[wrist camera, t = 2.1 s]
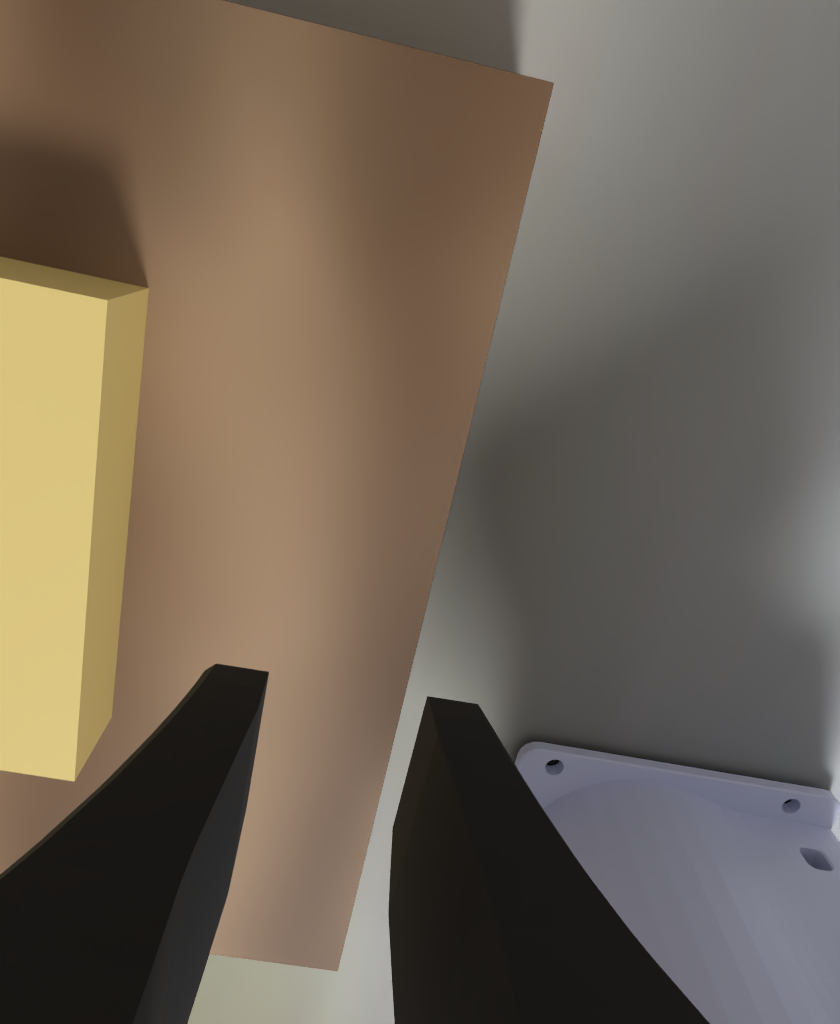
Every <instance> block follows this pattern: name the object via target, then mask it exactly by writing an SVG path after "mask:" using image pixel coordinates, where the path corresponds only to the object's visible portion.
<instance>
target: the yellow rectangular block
mask: <svg viewBox="0 0 840 1024" xmlns="http://www.w3.org/2000/svg"><path fill="white" fill-rule="evenodd" d="M148 292H149V288H146V287H141V286H136V285H132V284H127V283H122V282H118V281H113V280H108V279H103V278H99V277H94V276H89V275H85V274H80V273H75V272H71V271H66V270H61V269H57V268H52V267H47V266H43V265H38V264H33V263H28V262H24V261H19V260H14V259H10V258H5V257H0V770H2V771H9V772H15V773H22V774H28V775H35V776H41V777H48V778H54V779H61V780H68V781H75V780H76V778H77V776H78V775H79V773H80V771H81V769H82V768H83V766H84V764H85V763H86V761H87V759H88V757H89V756H90V754H91V752H92V750H93V749H94V747H95V745H96V744H97V742H98V740H99V738H100V737H101V735H102V733H103V731H104V730H105V728H106V726H107V725H108V723H109V721H110V719H111V718H112V708H113V697H114V685H115V673H116V662H117V650H118V639H119V627H120V616H121V604H122V593H123V581H124V569H125V558H126V546H127V535H128V523H129V512H130V500H131V489H132V477H133V466H134V454H135V442H136V431H137V419H138V408H139V396H140V385H141V373H142V362H143V350H144V338H145V327H146V315H147V304H148Z"/></svg>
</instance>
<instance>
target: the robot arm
mask: <svg viewBox="0 0 840 1024" xmlns="http://www.w3.org/2000/svg"><path fill="white" fill-rule="evenodd" d="M268 676H269V672H267V671H261V670H255V669H248V668H242V667H235V666H229V665H223V664H214V665H213V666H211V667H210V668H208V669H206V670H205V671H204V672H203V674H202V675H201V676H200V678H199V679H198V681H197V682H196V683H195V684H194V686H193V687H192V688H191V689H190V691H189V692H188V693H187V694H186V696H185V697H184V698H183V699H182V700H181V702H180V703H179V704H178V705H177V706H176V707H175V709H174V710H173V711H172V712H171V713H170V714H169V715H168V717H167V718H166V719H165V720H164V721H163V722H162V723H161V724H160V725H159V726H158V728H157V729H156V730H155V731H154V732H153V733H152V734H151V735H150V736H149V737H148V738H147V739H146V740H145V741H144V742H143V743H142V744H141V746H140V747H139V748H138V749H137V750H136V751H135V752H134V753H133V754H132V755H131V756H130V757H129V758H128V759H127V760H126V761H125V762H124V763H123V764H122V765H121V766H120V767H119V768H118V769H117V770H116V771H115V772H114V773H113V774H112V775H111V776H110V777H109V778H108V779H107V780H106V781H105V782H104V783H103V784H102V785H101V786H100V787H99V788H98V789H97V790H96V791H95V792H93V793H92V794H91V795H90V796H89V797H88V798H87V799H86V800H85V801H83V802H82V803H81V804H80V805H79V806H78V807H77V808H76V809H75V810H74V811H72V812H71V813H70V814H69V815H68V816H67V817H66V818H65V819H64V820H63V821H61V822H60V823H59V824H58V825H57V826H56V827H55V828H54V829H53V830H51V831H50V832H49V833H48V834H47V835H46V836H45V837H44V838H43V839H42V840H40V841H39V842H38V843H37V844H36V845H35V846H34V847H32V848H31V849H30V850H29V851H28V852H26V853H25V854H24V855H23V856H22V857H21V858H19V859H18V860H17V861H16V862H15V863H13V864H12V865H11V866H10V867H9V868H7V869H6V870H5V871H4V872H3V873H1V874H0V1024H187V1023H188V1019H189V1016H190V1013H191V1010H192V1007H193V1004H194V1001H195V997H196V994H197V991H198V988H199V985H200V982H201V979H202V975H203V972H204V969H205V966H206V963H207V960H208V956H209V953H210V950H211V947H212V944H213V941H214V937H215V934H216V931H217V928H218V925H219V922H220V918H221V915H222V912H223V909H224V906H225V902H226V899H227V896H228V892H229V888H230V883H231V878H232V874H233V869H234V864H235V860H236V855H237V850H238V846H239V841H240V836H241V832H242V827H243V822H244V818H245V813H246V808H247V802H248V796H249V790H250V784H251V778H252V772H253V766H254V760H255V754H256V748H257V742H258V736H259V730H260V724H261V718H262V712H263V706H264V700H265V694H266V688H267V682H268ZM551 760H559V761H560V762H559V763H558V764H556V765H552V766H549V765H547V762H549V761H551ZM789 799H792V800H791V801H790V802H788V803H786V804H784V802H785V801H787V800H789ZM839 812H840V803H839V801H838V800H837V799H836V797H835V796H834V795H833V794H832V793H831V792H830V791H828V790H825V789H819V788H813V787H807V786H801V785H795V784H789V783H783V782H777V781H771V780H765V779H759V778H753V777H747V776H741V775H735V774H730V773H724V772H718V771H712V770H706V769H700V768H694V767H688V766H682V765H676V764H670V763H664V762H658V761H652V760H646V759H640V758H634V757H628V756H622V755H616V754H610V753H604V752H598V751H592V750H586V749H580V748H574V747H568V746H562V745H556V744H550V743H544V742H531V743H528V744H525V745H524V746H523V747H522V748H521V749H520V750H519V752H518V754H517V757H516V761H515V764H514V762H513V761H512V759H511V757H510V756H509V754H508V752H507V751H506V749H505V747H504V746H503V744H502V742H501V741H500V739H499V738H498V736H497V734H496V733H495V731H494V729H493V728H492V726H491V724H490V723H489V721H488V719H487V718H486V716H485V715H484V713H483V712H482V710H481V709H480V707H479V705H478V704H473V703H466V702H460V701H454V700H447V699H441V698H434V697H428V696H427V700H426V704H425V707H424V711H423V715H422V719H421V723H420V726H419V730H418V734H417V738H416V742H415V746H414V749H413V753H412V757H411V761H410V765H409V768H408V772H407V776H406V780H405V784H404V787H403V791H402V795H401V799H400V803H399V807H398V810H397V814H396V818H395V822H394V826H393V835H392V853H391V871H390V893H389V931H390V949H391V967H392V985H393V1001H394V1018H395V1024H840V842H839V841H838V839H837V838H836V837H835V835H834V834H833V832H832V831H831V828H832V826H833V824H834V822H835V821H836V819H837V817H838V815H839Z"/></svg>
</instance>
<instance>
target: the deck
mask: <svg viewBox="0 0 840 1024" xmlns="http://www.w3.org/2000/svg"><path fill="white" fill-rule="evenodd" d="M553 85H554V83H552V82H548V81H544V80H540V79H536V78H532V77H528V76H524V75H520V74H516V73H512V72H508V71H504V70H500V69H496V68H492V67H488V66H484V65H480V64H476V63H472V62H468V61H464V60H460V59H456V58H452V57H448V56H444V55H440V54H436V53H432V52H428V51H424V50H420V49H416V48H412V47H408V46H404V45H400V44H396V43H392V42H388V41H384V40H380V39H376V38H372V37H368V36H364V35H360V34H356V33H352V32H348V31H344V30H340V29H336V28H332V27H328V26H324V25H320V24H316V23H312V22H308V21H304V20H300V19H296V18H292V17H288V16H284V15H280V14H276V13H272V12H268V11H264V10H260V9H256V8H252V7H248V6H244V5H240V4H236V3H232V2H228V1H224V0H0V257H5V258H10V259H14V260H19V261H24V262H28V263H33V264H38V265H43V266H47V267H52V268H57V269H61V270H66V271H71V272H75V273H80V274H85V275H89V276H94V277H99V278H103V279H108V280H113V281H118V282H122V283H127V284H132V285H136V286H141V287H146V288H149V292H148V304H147V315H146V327H145V338H144V350H143V362H142V373H141V385H140V396H139V408H138V419H137V431H136V442H135V454H134V466H133V477H132V489H131V500H130V512H129V523H128V535H127V546H126V558H125V569H124V581H123V593H122V604H121V616H120V627H119V639H118V650H117V662H116V673H115V685H114V697H113V708H112V718H111V719H110V721H109V723H108V725H107V726H106V728H105V730H104V731H103V733H102V735H101V737H100V738H99V740H98V742H97V744H96V745H95V747H94V749H93V750H92V752H91V754H90V756H89V757H88V759H87V761H86V763H85V764H84V766H83V768H82V769H81V771H80V773H79V775H78V776H77V778H76V780H75V781H68V780H61V779H54V778H48V777H41V776H35V775H28V774H22V773H15V772H9V771H2V770H0V874H1V873H3V872H4V871H5V870H6V869H7V868H9V867H10V866H11V865H12V864H13V863H15V862H16V861H17V860H18V859H19V858H21V857H22V856H23V855H24V854H25V853H26V852H28V851H29V850H30V849H31V848H32V847H34V846H35V845H36V844H37V843H38V842H39V841H40V840H42V839H43V838H44V837H45V836H46V835H47V834H48V833H49V832H50V831H51V830H53V829H54V828H55V827H56V826H57V825H58V824H59V823H60V822H61V821H63V820H64V819H65V818H66V817H67V816H68V815H69V814H70V813H71V812H72V811H74V810H75V809H76V808H77V807H78V806H79V805H80V804H81V803H82V802H83V801H85V800H86V799H87V798H88V797H89V796H90V795H91V794H92V793H93V792H95V791H96V790H97V789H98V788H99V787H100V786H101V785H102V784H103V783H104V782H105V781H106V780H107V779H108V778H109V777H110V776H111V775H112V774H113V773H114V772H115V771H116V770H117V769H118V768H119V767H120V766H121V765H122V764H123V763H124V762H125V761H126V760H127V759H128V758H129V757H130V756H131V755H132V754H133V753H134V752H135V751H136V750H137V749H138V748H139V747H140V746H141V744H142V743H143V742H144V741H145V740H146V739H147V738H148V737H149V736H150V735H151V734H152V733H153V732H154V731H155V730H156V729H157V728H158V726H159V725H160V724H161V723H162V722H163V721H164V720H165V719H166V718H167V717H168V715H169V714H170V713H171V712H172V711H173V710H174V709H175V707H176V706H177V705H178V704H179V703H180V702H181V700H182V699H183V698H184V697H185V696H186V694H187V693H188V692H189V691H190V689H191V688H192V687H193V686H194V684H195V683H196V682H197V681H198V679H199V678H200V676H201V675H202V674H203V672H204V671H205V670H206V669H208V668H210V667H211V666H213V665H214V664H223V665H229V666H235V667H242V668H248V669H255V670H261V671H267V672H269V676H268V682H267V688H266V694H265V700H264V706H263V712H262V718H261V724H260V730H259V736H258V742H257V748H256V754H255V760H254V766H253V772H252V778H251V784H250V790H249V796H248V802H247V808H246V813H245V818H244V822H243V827H242V832H241V836H240V841H239V846H238V850H237V855H236V860H235V864H234V869H233V874H232V878H231V883H230V888H229V892H228V896H227V899H226V902H225V906H224V909H223V912H222V915H221V918H220V922H219V925H218V928H217V931H216V934H215V937H214V941H213V944H212V947H211V950H210V953H209V954H214V955H221V956H229V957H236V958H243V959H251V960H258V961H266V962H273V963H280V964H288V965H295V966H303V967H310V968H317V969H325V970H332V971H338V967H339V963H340V959H341V955H342V951H343V947H344V943H345V939H346V934H347V930H348V926H349V922H350V918H351V914H352V910H353V906H354V902H355V897H356V893H357V889H358V885H359V881H360V877H361V873H362V869H363V865H364V861H365V856H366V852H367V848H368V844H369V840H370V836H371V832H372V828H373V824H374V819H375V815H376V811H377V807H378V803H379V799H380V795H381V791H382V787H383V783H384V778H385V774H386V770H387V766H388V762H389V758H390V754H391V750H392V746H393V741H394V737H395V733H396V729H397V725H398V721H399V717H400V713H401V709H402V705H403V700H404V696H405V692H406V688H407V684H408V680H409V676H410V672H411V668H412V663H413V659H414V655H415V651H416V647H417V643H418V639H419V635H420V631H421V627H422V622H423V618H424V614H425V610H426V606H427V602H428V598H429V594H430V590H431V585H432V581H433V577H434V573H435V569H436V565H437V561H438V557H439V553H440V548H441V544H442V540H443V536H444V532H445V528H446V524H447V520H448V516H449V512H450V507H451V503H452V499H453V495H454V491H455V487H456V483H457V479H458V475H459V470H460V466H461V462H462V458H463V454H464V450H465V446H466V442H467V438H468V434H469V429H470V425H471V421H472V417H473V413H474V409H475V405H476V401H477V397H478V392H479V388H480V384H481V380H482V376H483V372H484V368H485V364H486V360H487V356H488V351H489V347H490V343H491V339H492V335H493V331H494V327H495V323H496V319H497V314H498V310H499V306H500V302H501V298H502V294H503V290H504V286H505V282H506V278H507V273H508V269H509V265H510V261H511V257H512V253H513V249H514V245H515V241H516V236H517V232H518V228H519V224H520V220H521V216H522V212H523V208H524V204H525V199H526V195H527V191H528V187H529V183H530V179H531V175H532V171H533V167H534V163H535V158H536V154H537V150H538V146H539V142H540V138H541V134H542V130H543V126H544V121H545V117H546V113H547V109H548V105H549V101H550V97H551V93H552V89H553Z"/></svg>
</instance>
